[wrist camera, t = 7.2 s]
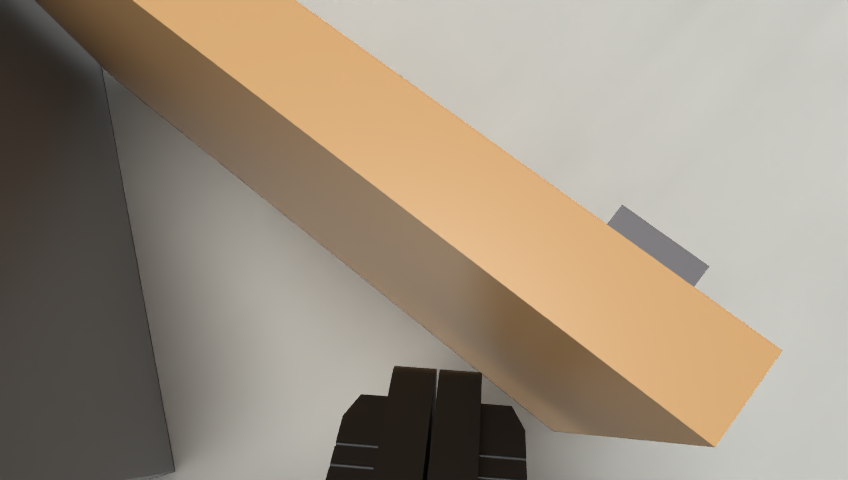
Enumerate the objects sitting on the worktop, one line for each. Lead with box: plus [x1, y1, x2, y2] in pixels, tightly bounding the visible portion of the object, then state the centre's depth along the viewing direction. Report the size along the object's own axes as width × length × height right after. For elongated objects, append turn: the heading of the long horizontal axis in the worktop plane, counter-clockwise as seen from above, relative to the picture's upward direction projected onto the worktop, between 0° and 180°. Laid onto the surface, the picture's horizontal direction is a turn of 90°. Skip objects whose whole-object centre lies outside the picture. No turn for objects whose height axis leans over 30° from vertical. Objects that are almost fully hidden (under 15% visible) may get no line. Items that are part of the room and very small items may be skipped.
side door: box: [34, 0, 782, 447], centre depth 13 cm, size 2×16×11 cm, turn 51°
